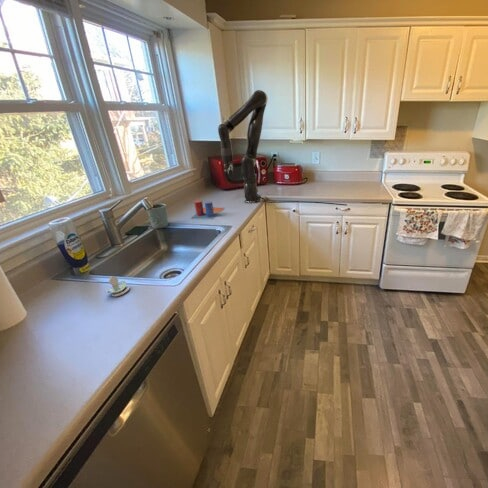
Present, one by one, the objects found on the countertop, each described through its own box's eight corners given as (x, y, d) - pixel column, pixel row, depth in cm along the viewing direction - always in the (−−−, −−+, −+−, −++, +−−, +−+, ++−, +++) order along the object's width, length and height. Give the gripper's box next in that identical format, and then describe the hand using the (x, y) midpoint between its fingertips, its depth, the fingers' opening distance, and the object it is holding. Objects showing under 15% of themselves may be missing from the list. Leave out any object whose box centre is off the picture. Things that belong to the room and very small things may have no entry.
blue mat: (217, 213, 184) (217, 213, 184) (212, 219, 175) (211, 218, 174) (198, 213, 184) (198, 212, 184) (191, 218, 175) (191, 217, 175)
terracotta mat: (224, 208, 195) (224, 207, 195) (219, 212, 187) (219, 211, 187) (206, 207, 196) (206, 207, 196) (200, 211, 188) (200, 211, 187)
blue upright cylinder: (215, 214, 181) (213, 201, 177) (212, 217, 177) (210, 203, 173) (208, 214, 181) (206, 201, 178) (205, 216, 177) (203, 203, 173)
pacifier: (134, 288, 105) (121, 285, 106) (130, 273, 102) (117, 271, 104) (117, 299, 98) (103, 296, 100) (112, 284, 96) (98, 281, 97)
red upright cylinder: (205, 213, 182) (203, 200, 179) (202, 216, 178) (200, 202, 174) (198, 213, 183) (196, 200, 179) (195, 215, 179) (193, 202, 175)
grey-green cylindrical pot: (150, 229, 157) (145, 209, 152) (150, 224, 165) (145, 204, 160) (170, 227, 161) (166, 207, 156) (169, 221, 170) (165, 202, 164)
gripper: (228, 155, 189) (231, 179, 196) (235, 153, 202) (237, 175, 209) (218, 155, 190) (220, 179, 197) (225, 152, 203) (227, 175, 210)
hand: (229, 177), depth 203 cm, fingers open, 8 cm apart
